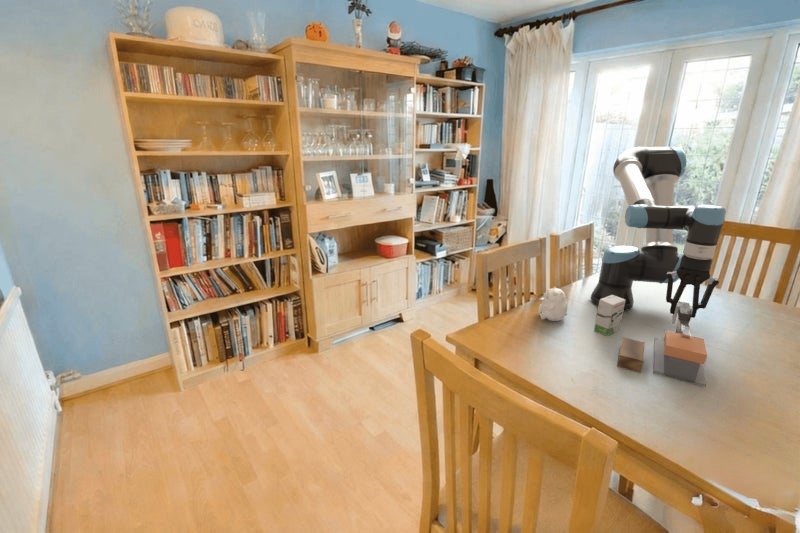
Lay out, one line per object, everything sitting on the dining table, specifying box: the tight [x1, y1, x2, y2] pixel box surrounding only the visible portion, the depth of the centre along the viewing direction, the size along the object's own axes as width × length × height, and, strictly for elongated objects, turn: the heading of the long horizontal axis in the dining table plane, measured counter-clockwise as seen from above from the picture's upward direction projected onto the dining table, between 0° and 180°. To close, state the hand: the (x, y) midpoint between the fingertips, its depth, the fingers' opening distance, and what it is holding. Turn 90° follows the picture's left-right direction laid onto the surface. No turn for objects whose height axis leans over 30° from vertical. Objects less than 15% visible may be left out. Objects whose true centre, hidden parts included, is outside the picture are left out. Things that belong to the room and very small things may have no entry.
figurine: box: [538, 286, 569, 322], centre depth 138 cm, size 10×10×12 cm
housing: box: [652, 337, 708, 388], centre depth 112 cm, size 12×23×6 cm, turn 147°
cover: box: [663, 330, 708, 365], centre depth 106 cm, size 9×10×3 cm
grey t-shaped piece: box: [674, 300, 692, 338], centre depth 117 cm, size 3×20×11 cm, turn 147°
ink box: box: [593, 295, 625, 336], centre depth 129 cm, size 9×5×12 cm, turn 123°
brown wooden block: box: [616, 336, 646, 374], centre depth 113 cm, size 6×12×4 cm, turn 147°
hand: (679, 324), depth 123 cm, fingers open, 3 cm apart
